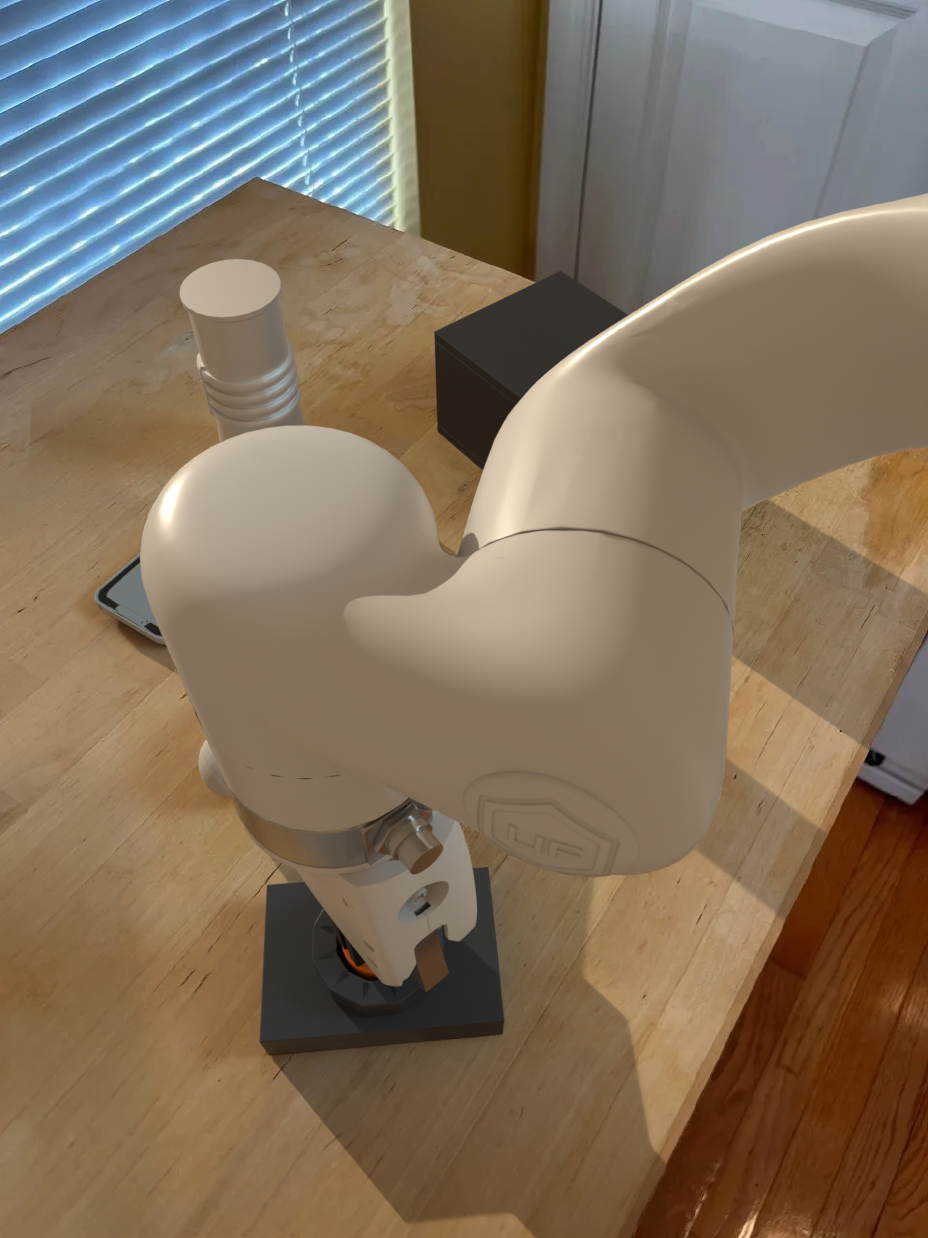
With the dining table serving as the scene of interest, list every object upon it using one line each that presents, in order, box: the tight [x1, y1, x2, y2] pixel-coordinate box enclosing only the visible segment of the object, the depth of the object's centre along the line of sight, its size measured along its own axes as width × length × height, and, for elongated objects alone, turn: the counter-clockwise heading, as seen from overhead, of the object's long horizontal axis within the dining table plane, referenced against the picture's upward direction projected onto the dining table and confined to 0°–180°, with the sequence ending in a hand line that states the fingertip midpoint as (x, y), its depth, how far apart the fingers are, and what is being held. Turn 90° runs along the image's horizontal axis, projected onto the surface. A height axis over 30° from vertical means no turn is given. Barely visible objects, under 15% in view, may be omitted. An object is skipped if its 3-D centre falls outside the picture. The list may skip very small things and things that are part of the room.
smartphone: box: [94, 552, 166, 645], centre depth 68 cm, size 7×1×15 cm
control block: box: [259, 866, 505, 1057], centre depth 49 cm, size 12×8×4 cm, turn 95°
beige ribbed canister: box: [179, 258, 307, 443], centre depth 69 cm, size 7×7×15 cm
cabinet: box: [433, 270, 629, 471], centre depth 72 cm, size 15×13×10 cm
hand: (374, 935), depth 47 cm, fingers closed
